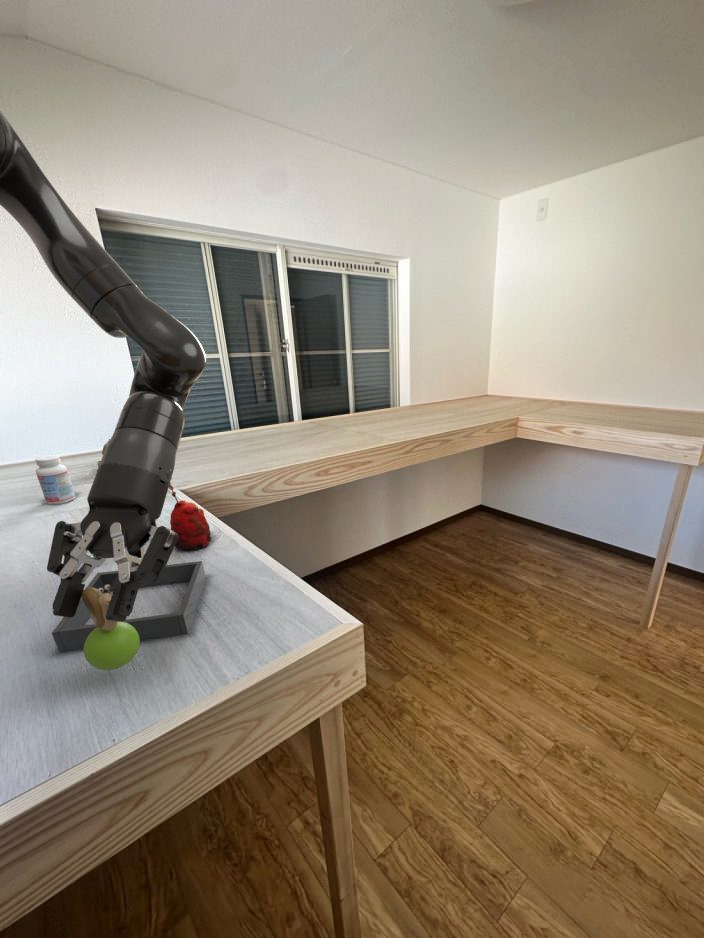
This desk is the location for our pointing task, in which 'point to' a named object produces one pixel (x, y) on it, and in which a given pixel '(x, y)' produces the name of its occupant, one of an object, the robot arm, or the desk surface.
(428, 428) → the desk surface
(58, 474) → the pill bottle
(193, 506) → the red bumpy rounded piece
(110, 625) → the snail figurine
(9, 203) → the robot arm
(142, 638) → the grey open frame
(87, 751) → the desk surface
